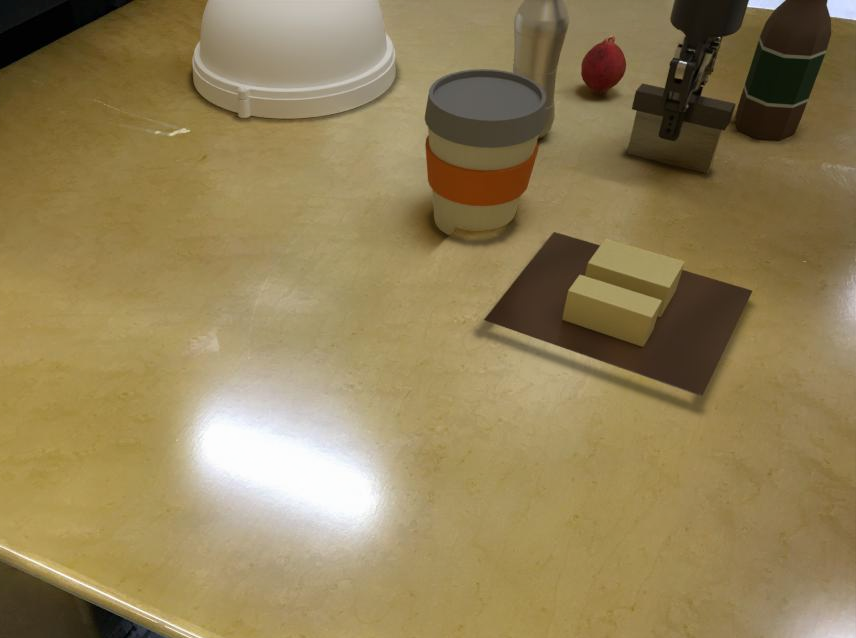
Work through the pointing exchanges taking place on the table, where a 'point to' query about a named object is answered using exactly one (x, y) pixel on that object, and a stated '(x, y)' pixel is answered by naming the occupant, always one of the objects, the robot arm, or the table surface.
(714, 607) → the table surface
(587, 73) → the pomegranate
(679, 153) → the bench scraper
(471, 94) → the reusable coffee cup
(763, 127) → the beer bottle
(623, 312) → the butter slice
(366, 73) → the dome cover
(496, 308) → the cutting board
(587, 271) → the butter block
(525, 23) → the plastic bottle
